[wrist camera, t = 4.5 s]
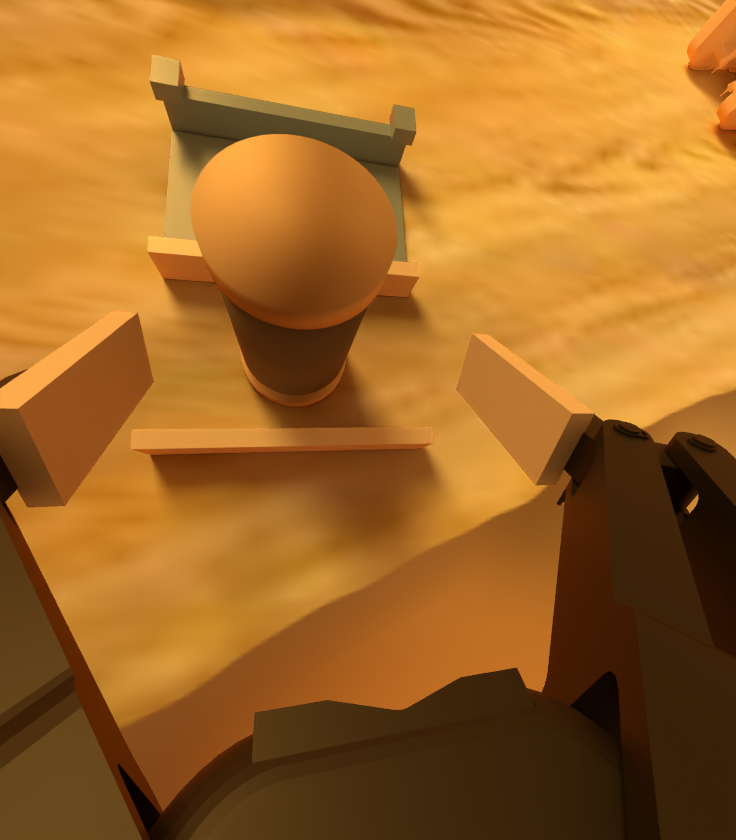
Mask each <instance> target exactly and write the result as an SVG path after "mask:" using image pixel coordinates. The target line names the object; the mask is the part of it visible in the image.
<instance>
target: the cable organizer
mask: <svg viewBox="0 0 736 840" xmlns="http://www.w3.org/2000/svg"><path fill="white" fill-rule="evenodd" d="M687 55H688V57H689V59H690V62H689V63H688V65H689V67H690V69H693V70H705V71H707V70H710V69H712V68H716V69H715V70H714V71H716V70H717V69H719V68H721V69H728V71H729V72H733V73H736V0H726V1H725V2H724V4H723V5H722V6H721V7H720V8H719V9H718V10H717V11H716V13H715V14H714V15H713V16H712V17H711V18H710V19H709V20H708V22H707V23H706V24H705V25H704V26H703V27H702V28H701V29H700V31H699V32H698V33H697V34H696V35H695V36H694V38H693V39H692V40H691V42H690V44H689V46H688V48H687ZM714 71H713V72H714ZM713 72H712V73H713ZM727 91H728V92H730V93H731V91H733V93H732V94H731V95H729V96H728V97H727V98H726V99H725V100H724V101H723V102H722V103H721V105H720V106H719V108H718V110H717V115H718V117H719V120H720V123H719V126H720V129H721V130H736V80H735V81H733V82H731V83H729V84H728V88H727V89H726V90H725V91H724V92H723V93H722V94H721V95H723V94H724V93H726V92H727ZM721 95H720V96H721ZM720 96H719V97H720Z"/></svg>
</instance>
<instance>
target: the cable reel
mask: <svg viewBox="0 0 736 840" xmlns="http://www.w3.org/2000/svg"><path fill="white" fill-rule="evenodd" d="M190 207H191V222H192V227H193V231H194V234H195V237H196V240H197V243H198V245H199V248H200V251H201V254H202V256H203V259H204V262H205V264H206V267H207V269H208V271H209V273H210V275H211V277H212V279H213V280H214V282H215V283H216V285H217V286H218V287H219V289H220V290H221V292H222V295H223V298H224V301H225V304H226V307H227V310H228V313H229V316H230V319H231V322H232V325H233V328H234V331H235V334H236V336H237V339H238V342H239V345H240V357H241V362H242V365H243V368H244V371H245V374H246V376H247V378H248V380H249V382H250V383H251V385H252V386H253V387H254V389H255V390H256V391H257V392H258V393H259V394H261V395H262V396H263V397H265V398H266V399H268V400H270V401H272V402H274V403H276V404H279V405H283V406H288V407H303V406H308V405H311V404H315V403H317V402H319V401H321V400H322V399H324V398H326V397H327V396H328V395H329V394H330V393H331V392H332V391H333V390H334V389H335V388H336V386H337V385H338V383H339V381H340V379H341V377H342V374H343V372H344V369H345V366H346V360H347V354H348V352H349V349H350V347H351V345H352V342H353V340H354V337H355V335H356V333H357V330H358V328H359V325H360V323H361V321H362V318H363V316H364V313H365V311H366V309H367V306H368V305H369V304H370V303H371V302H372V301H373V300H374V298H375V297H376V295H377V294H378V293H379V291H380V289H381V287H382V284H383V282H384V280H385V278H386V276H387V273H388V271H389V269H390V267H391V264H392V262H393V259H394V256H395V252H396V246H397V225H396V219H395V215H394V212H393V209H392V206H391V204H390V202H389V199H388V197H387V196H386V194H385V192H384V190H383V189H382V187H381V186H380V185H379V183H378V182H377V180H376V179H375V178H374V177H373V176H372V175H371V174H370V173H369V171H368V170H367V169H365V168H364V167H363V166H362V165H361V164H360V163H359V162H357V161H356V160H355V159H353V158H352V157H350V156H349V155H348V154H346V153H344V152H342V151H341V150H339V149H337V148H335V147H333V146H331V145H328V144H326V143H324V142H321V141H318V140H315V139H312V138H307V137H303V136H297V135H289V134H269V135H260V136H255V137H251V138H247V139H244V140H241V141H239V142H236V143H234V144H232V145H230V146H228V147H226V148H225V149H224V150H222V151H221V152H219V153H218V154H217V155H216V156H214V157H213V158H212V159H211V160H210V161H209V162H208V163H207V165H206V166H205V167H204V169H203V170H202V171H201V173H200V175H199V177H198V179H197V181H196V183H195V186H194V189H193V192H192V198H191V205H190Z"/></svg>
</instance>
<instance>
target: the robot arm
mask: <svg viewBox="0 0 736 840" xmlns="http://www.w3.org/2000/svg"><path fill="white" fill-rule="evenodd" d="M153 382H154V381H153V377H152V372H151V368H150V364H149V359H148V355H147V351H146V346H145V342H144V338H143V333H142V329H141V325H140V320H139V316H138V313H137V312H121V311H113V312H111V313H110V314H108V315H107V316H105V317H104V318H102V319H101V320H100V321H98V322H97V323H95V324H94V325H92V326H91V327H89V328H88V329H86V330H85V331H83V332H82V333H80V334H79V335H78V336H76V337H75V338H73V339H72V340H70V341H69V342H67V343H66V344H64V345H63V346H61V347H60V348H59V349H57V350H56V351H54V352H53V353H51V354H50V355H48V356H47V357H45V358H44V359H42V360H41V361H40V362H38V363H37V364H35V365H34V366H32V367H31V368H29V369H27V370H24V371H21V372H19V373H16V374H13V375H11V376H8V377H6V378H4V379H3V380H1V381H0V840H736V459H735V458H734V457H733V456H732V455H731V454H730V453H729V452H728V451H727V450H726V449H724V448H723V447H722V446H720V445H719V444H717V443H715V442H714V441H713V440H712V439H710V438H708V437H705V436H702V435H699V434H698V435H695V434H692V433H687V432H677V433H676V434H675V435H674V437H673V438H672V439H671V441H670V442H669V443H668V445H666V444H660V443H655V442H654V441H653V439H652V437H651V436H650V435H649V434H648V433H647V432H646V431H644V430H642V429H640V428H639V427H637V426H636V425H633V424H631V423H628V422H623V421H619V420H610V419H609V420H605V421H602V420H601V419H600V418H598V417H597V416H596V415H595V413H594V412H592V411H591V410H589V409H588V408H587V407H585V406H584V405H583V404H581V403H580V402H579V401H577V400H576V399H575V398H573V397H572V396H571V395H569V394H568V393H566V392H565V391H564V390H562V389H561V388H560V387H558V386H557V385H556V384H554V383H553V382H552V381H550V380H549V379H548V378H546V377H545V376H543V375H542V374H541V373H539V372H538V371H537V370H535V369H534V368H533V367H531V366H530V365H529V364H527V363H526V362H525V361H523V360H522V359H520V358H519V357H518V356H516V355H515V354H514V353H512V352H511V351H510V350H508V349H507V348H506V347H504V346H503V345H502V344H500V343H499V342H497V341H496V340H495V339H493V338H492V337H491V336H489V335H488V334H472V336H471V340H470V343H469V347H468V350H467V354H466V357H465V361H464V364H463V368H462V371H461V375H460V378H459V382H458V385H457V388H456V389H457V391H458V392H459V393H460V394H461V395H462V397H463V398H464V399H465V400H466V402H467V403H468V404H469V405H470V406H471V408H472V409H473V410H474V411H475V412H476V414H477V415H478V416H479V417H480V418H481V420H482V421H483V422H484V423H485V425H486V426H487V427H488V428H489V429H490V431H491V432H492V433H493V434H494V435H495V437H496V438H497V439H498V440H499V442H500V443H501V444H502V445H503V446H504V448H505V449H506V450H507V451H508V452H509V454H510V455H511V456H512V457H513V459H514V460H515V461H516V462H517V463H518V465H519V466H520V467H521V468H522V469H523V471H524V472H525V473H526V474H527V475H528V477H529V478H530V479H531V480H532V482H533V483H534V484H535V485H556V484H557V482H558V480H559V478H560V476H561V474H562V473H563V471H564V470H565V471H566V472H567V473H568V474H569V475H570V476H571V477H572V478H571V480H570V482H569V483H568V485H567V487H566V489H565V490H564V492H563V494H562V496H561V497H560V499H559V501H558V503H557V504H558V505H561V504H562V502H565V505H564V515H563V525H562V535H561V546H560V555H559V565H558V575H557V585H556V595H555V605H554V615H553V625H552V635H551V645H550V655H549V665H548V673H547V679H546V682H545V686H544V688H543V691H542V693H541V692H538V691H535V690H531V689H528V688H526V686H525V684H524V682H523V680H522V678H521V676H520V674H519V672H518V670H517V668H513V669H507V670H501V671H495V672H489V673H483V674H477V675H472V676H466V677H461V678H459V679H457V680H455V681H453V682H452V683H450V684H448V685H446V686H445V687H443V688H441V689H440V690H438V691H436V692H434V693H433V694H431V695H429V696H427V697H426V698H424V699H422V700H420V701H419V702H417V703H415V704H413V705H412V706H410V707H408V708H406V709H403V710H390V709H383V708H376V707H370V706H363V705H357V704H349V703H342V702H336V701H329V700H326V701H320V702H315V703H308V704H303V705H297V706H292V707H285V708H279V709H274V710H268V711H262V712H256V713H255V718H254V732H253V734H252V735H250V736H248V737H246V738H244V739H242V740H240V741H239V742H237V743H235V744H234V745H232V746H231V747H229V748H228V749H227V750H225V751H224V752H222V753H221V754H219V755H218V756H217V757H216V758H214V759H213V760H212V761H211V762H210V763H209V764H208V765H206V766H205V767H204V768H203V769H201V770H200V771H199V772H198V773H197V774H196V775H195V776H194V777H193V778H192V780H190V781H189V783H188V784H187V785H186V786H185V787H184V788H183V789H182V790H181V791H180V792H179V793H178V794H177V796H176V797H175V798H174V799H173V800H172V802H171V803H170V804H169V806H168V807H167V808H166V809H165V810H164V812H163V811H162V809H161V807H160V805H159V803H158V801H157V799H156V797H155V795H154V793H153V791H152V789H151V788H150V786H149V784H148V782H147V780H146V778H145V777H144V775H143V773H142V772H141V770H140V768H139V766H138V765H137V763H136V761H135V759H134V757H133V756H132V754H131V752H130V750H129V748H128V746H127V744H126V742H125V740H124V738H123V736H122V734H121V732H120V730H119V728H118V726H117V724H116V722H115V720H114V718H113V716H112V714H111V712H110V710H109V708H108V706H107V704H106V702H105V700H104V698H103V696H102V694H101V692H100V690H99V688H98V686H97V684H96V682H95V680H94V678H93V676H92V673H91V671H90V669H89V667H88V665H87V663H86V661H85V659H84V657H83V655H82V653H81V651H80V649H79V647H78V645H77V643H76V641H75V639H74V637H73V635H72V633H71V631H70V629H69V627H68V625H67V623H66V621H65V619H64V617H63V615H62V613H61V611H60V609H59V607H58V605H57V603H56V601H55V599H54V597H53V595H52V593H51V591H50V589H49V587H48V585H47V583H46V581H45V579H44V577H43V575H42V573H41V571H40V569H39V567H38V565H37V563H36V561H35V559H34V557H33V555H32V553H31V551H30V549H29V547H28V545H27V543H26V541H25V539H24V537H23V535H22V533H21V531H20V529H19V527H18V525H17V523H16V521H15V518H14V516H13V514H12V512H11V511H10V509H9V508H8V506H7V504H6V503H5V502H6V501H7V499H8V498H9V497H10V496H11V495H12V494H13V493H14V492H15V491H16V490H18V492H19V493H20V495H21V497H22V499H23V500H24V502H25V504H26V506H27V507H48V506H65V505H66V504H67V502H68V501H69V499H70V498H71V497H72V495H73V494H74V492H75V491H76V490H77V488H78V487H79V485H80V484H81V483H82V481H83V480H84V478H85V477H86V476H87V474H88V473H89V471H90V470H91V469H92V467H93V466H94V464H95V463H96V462H97V460H98V459H99V457H100V456H101V455H102V453H103V452H104V450H105V449H106V448H107V446H108V445H109V443H110V442H111V441H112V439H113V438H114V436H115V435H116V434H117V432H118V431H119V429H120V428H121V427H122V425H123V424H124V423H125V421H126V420H127V418H128V417H129V416H130V414H131V413H132V411H133V410H134V409H135V407H136V406H137V404H138V403H139V402H140V400H141V399H142V397H143V396H144V395H145V393H146V392H147V390H148V389H149V388H150V386H151V385H152V383H153ZM697 495H698V497H699V499H698V503H697V505H696V507H695V508H694V509H693V510H692V511H691V513H689V512H688V510H687V509H686V507H687V506H688V505H689V504H690V503H691V502H692V500H693V499H694V498H695V497H696V496H697Z"/></svg>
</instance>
